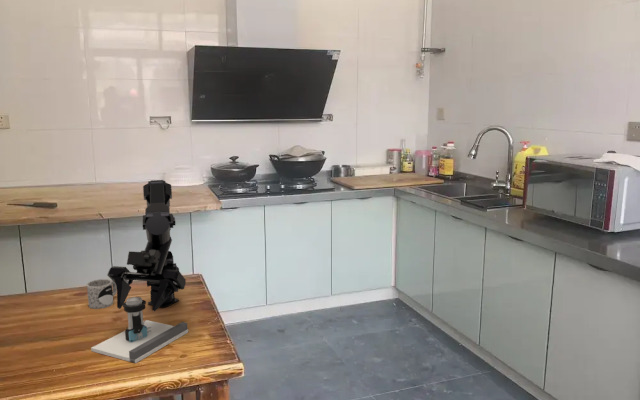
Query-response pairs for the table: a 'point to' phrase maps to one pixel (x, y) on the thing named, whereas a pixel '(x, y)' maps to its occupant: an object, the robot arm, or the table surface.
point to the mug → (101, 293)
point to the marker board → (141, 342)
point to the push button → (135, 319)
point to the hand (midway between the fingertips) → (136, 309)
